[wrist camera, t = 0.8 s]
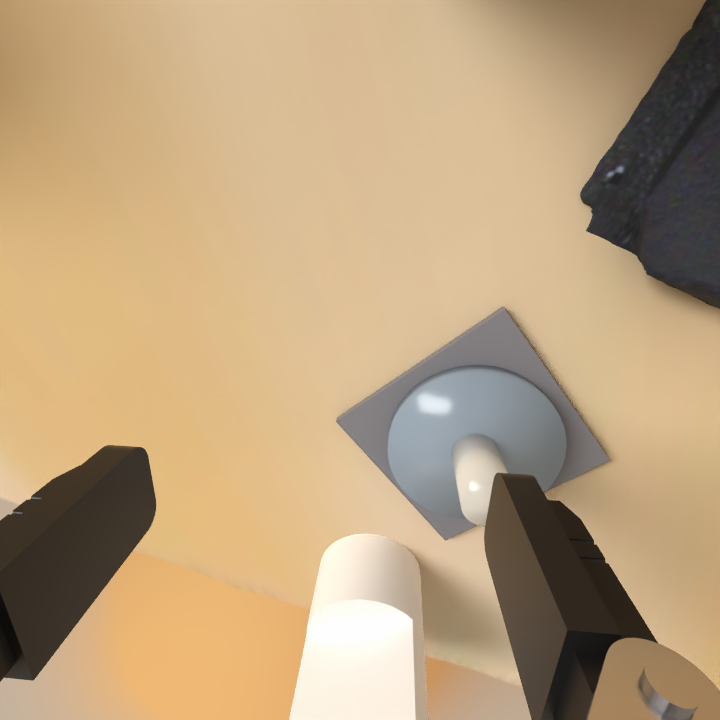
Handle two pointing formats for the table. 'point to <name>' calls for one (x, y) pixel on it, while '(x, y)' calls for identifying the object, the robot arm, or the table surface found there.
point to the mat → (474, 347)
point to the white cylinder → (364, 636)
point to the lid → (472, 438)
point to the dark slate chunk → (670, 170)
